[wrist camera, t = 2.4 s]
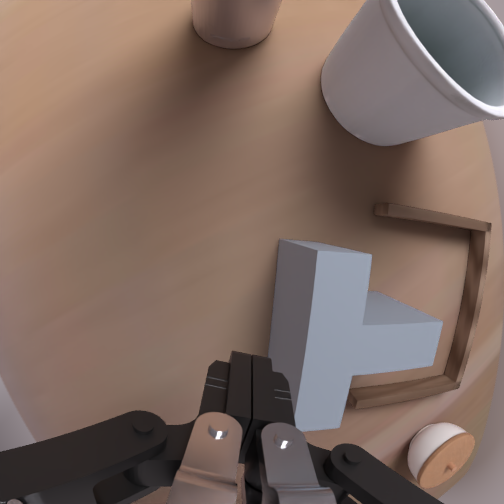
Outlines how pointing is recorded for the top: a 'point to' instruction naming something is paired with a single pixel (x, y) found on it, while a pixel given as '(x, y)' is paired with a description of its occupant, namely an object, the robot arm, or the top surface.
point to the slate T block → (338, 329)
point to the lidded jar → (438, 453)
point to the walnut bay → (465, 321)
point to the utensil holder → (416, 69)
